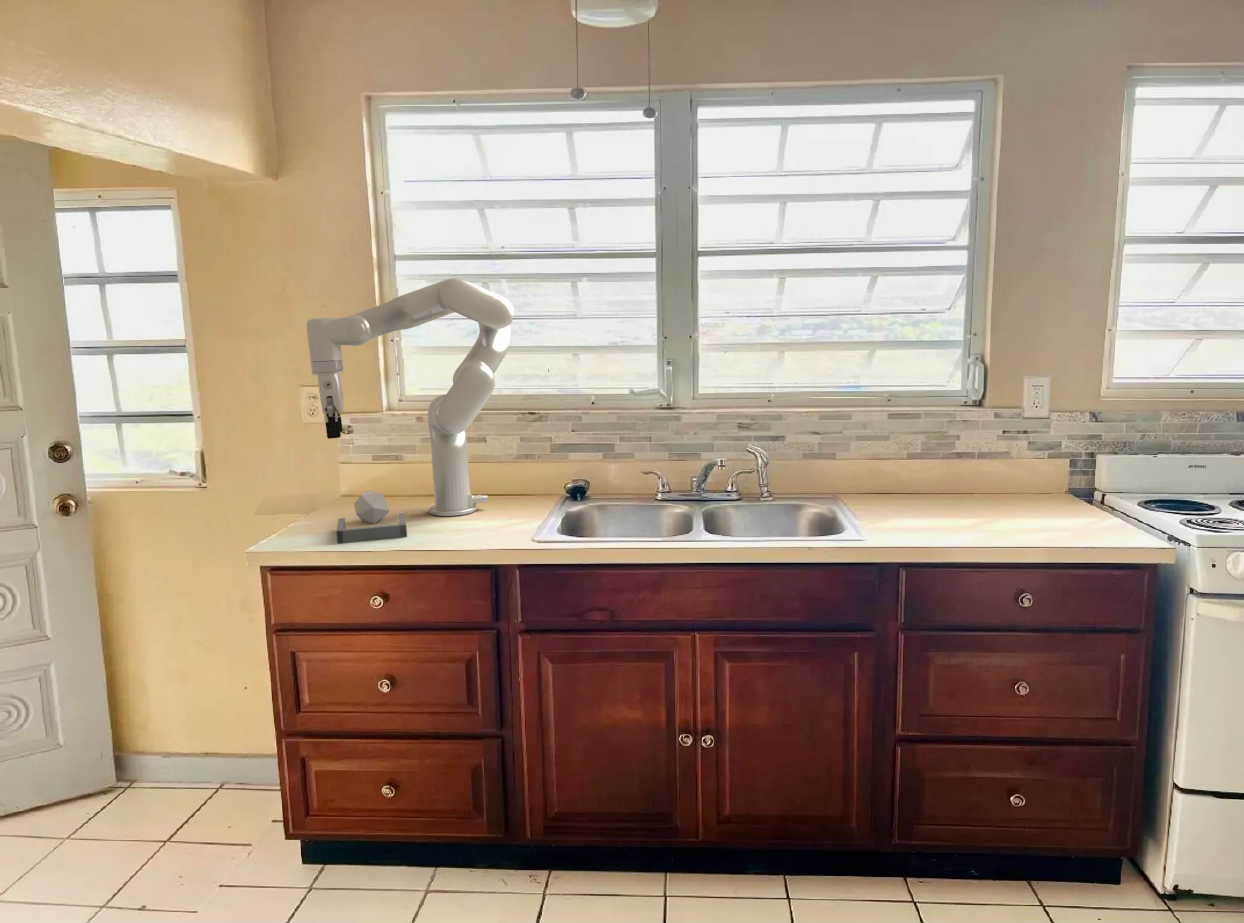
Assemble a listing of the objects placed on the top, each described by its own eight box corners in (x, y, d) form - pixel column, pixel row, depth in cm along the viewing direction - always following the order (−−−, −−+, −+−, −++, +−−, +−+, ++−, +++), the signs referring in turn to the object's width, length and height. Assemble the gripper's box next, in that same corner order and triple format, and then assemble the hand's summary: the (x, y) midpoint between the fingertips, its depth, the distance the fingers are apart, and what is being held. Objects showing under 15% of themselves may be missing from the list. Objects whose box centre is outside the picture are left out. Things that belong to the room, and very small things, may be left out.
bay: (405, 524, 215) (404, 512, 214) (407, 536, 202) (406, 524, 202) (339, 530, 210) (338, 518, 210) (337, 543, 198) (336, 531, 198)
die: (397, 523, 219) (391, 490, 223) (378, 514, 211) (373, 480, 215) (369, 533, 220) (364, 500, 224) (350, 525, 213) (345, 491, 216)
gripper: (341, 369, 203) (349, 438, 206) (344, 364, 219) (351, 429, 222) (308, 371, 201) (317, 441, 204) (314, 366, 217) (322, 431, 220)
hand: (335, 435), depth 213 cm, fingers open, 9 cm apart
